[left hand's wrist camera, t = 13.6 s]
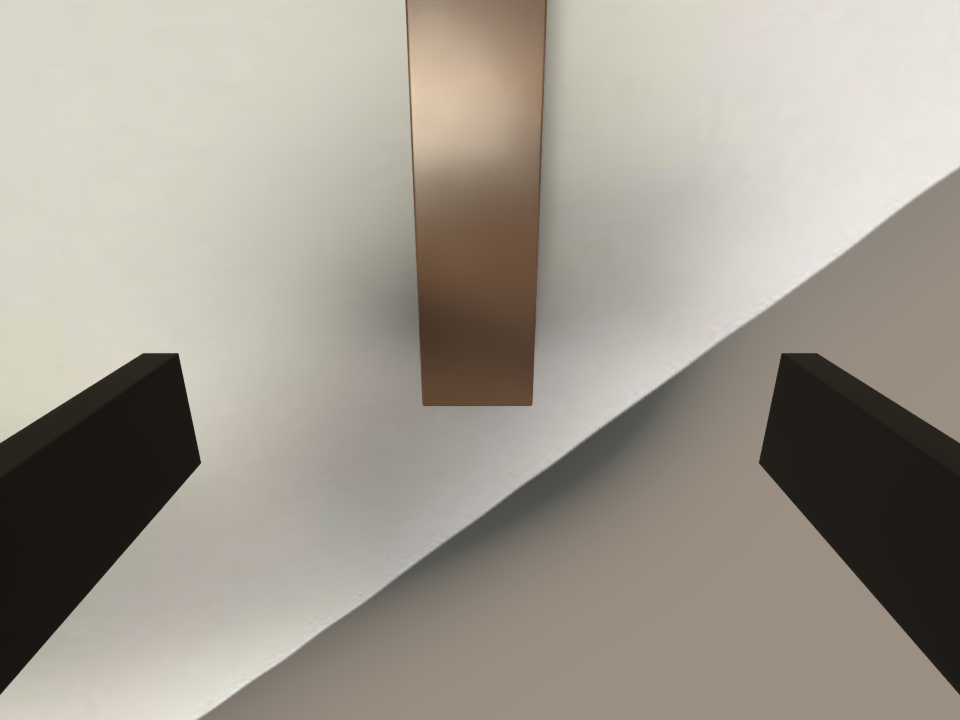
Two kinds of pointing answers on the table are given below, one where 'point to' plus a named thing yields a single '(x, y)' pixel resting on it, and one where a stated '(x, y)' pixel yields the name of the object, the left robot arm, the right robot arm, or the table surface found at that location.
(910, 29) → the table surface
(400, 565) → the table surface
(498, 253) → the bar
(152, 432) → the left robot arm
